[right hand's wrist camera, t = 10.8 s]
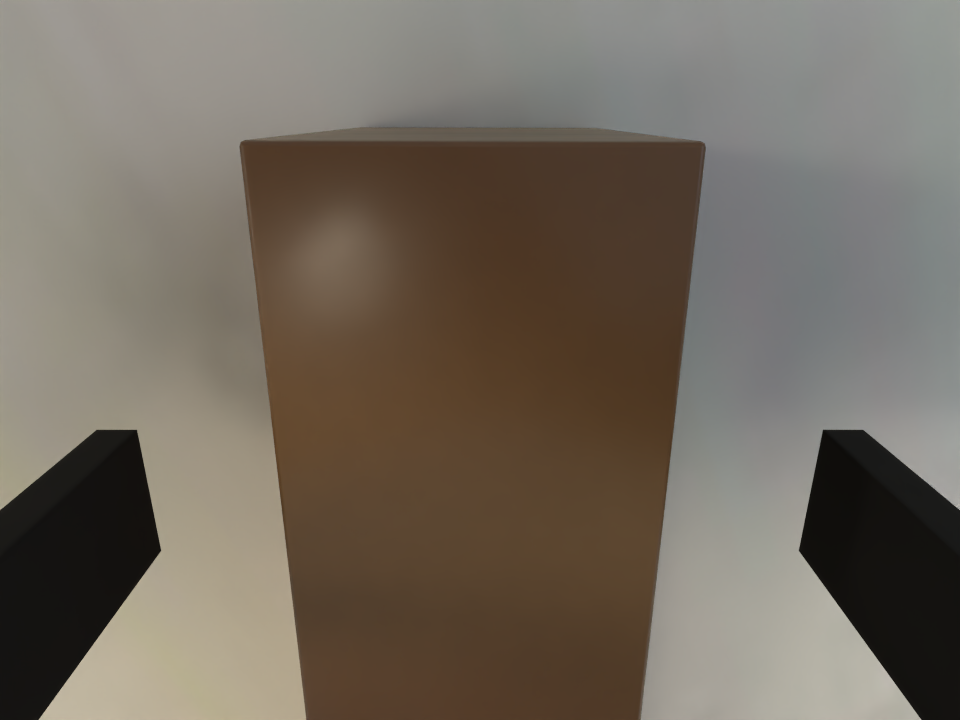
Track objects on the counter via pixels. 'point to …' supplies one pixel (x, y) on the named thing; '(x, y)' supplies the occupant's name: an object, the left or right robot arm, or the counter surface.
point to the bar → (473, 409)
